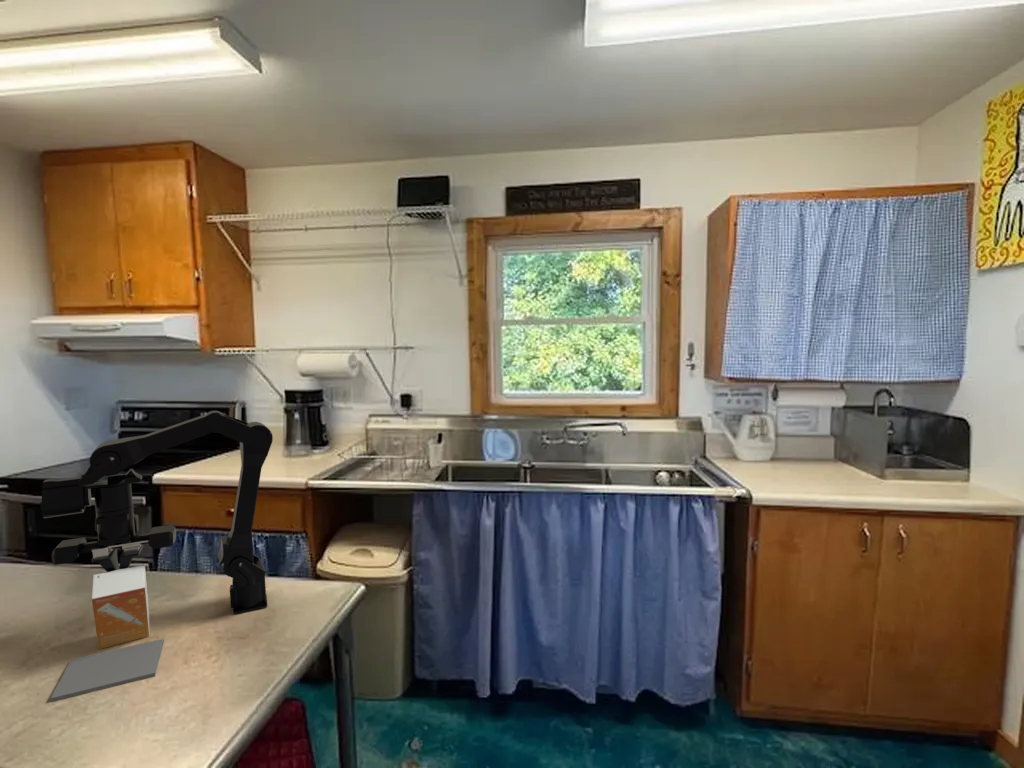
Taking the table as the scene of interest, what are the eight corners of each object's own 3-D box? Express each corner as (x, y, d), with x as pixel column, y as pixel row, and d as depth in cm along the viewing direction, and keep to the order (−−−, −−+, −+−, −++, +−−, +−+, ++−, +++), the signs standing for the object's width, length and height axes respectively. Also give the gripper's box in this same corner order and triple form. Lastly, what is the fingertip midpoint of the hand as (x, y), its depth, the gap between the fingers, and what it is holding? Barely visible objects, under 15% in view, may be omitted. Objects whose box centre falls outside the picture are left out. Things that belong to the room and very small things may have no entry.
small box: (98, 650, 101) (90, 599, 95) (99, 624, 105) (92, 574, 100) (150, 636, 105) (145, 587, 100) (149, 612, 110) (145, 563, 105)
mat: (163, 641, 103) (163, 638, 103) (154, 676, 93) (154, 672, 92) (71, 662, 97) (71, 659, 97) (50, 701, 86) (50, 698, 86)
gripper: (176, 490, 115) (181, 561, 116) (65, 503, 106) (72, 580, 108) (169, 504, 105) (175, 582, 106) (46, 520, 96) (55, 604, 98)
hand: (121, 586), depth 105 cm, fingers closed
